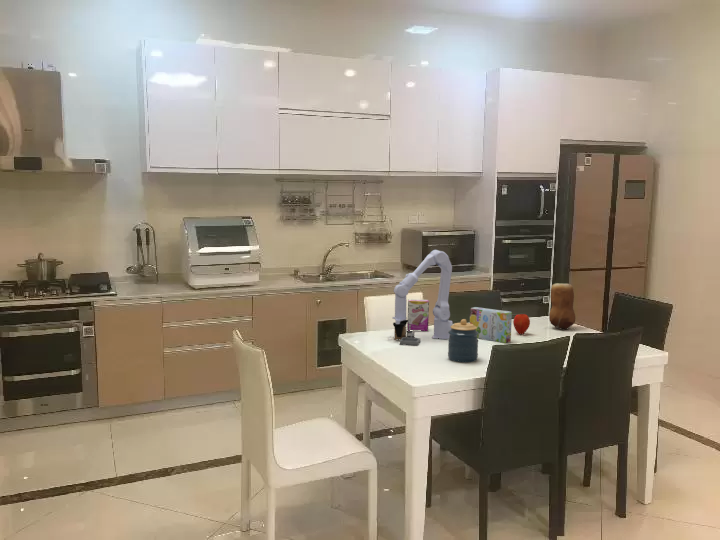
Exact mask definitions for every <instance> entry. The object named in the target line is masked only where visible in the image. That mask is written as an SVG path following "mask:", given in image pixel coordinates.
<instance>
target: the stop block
mask: <svg viewBox="0 0 720 540" xmlns="http://www.w3.org/2000/svg"><path fill="white" fill-rule="evenodd" d="M406 331H407V326H405V327H403V330H402V336H401V337H397V335H396V330H395V329H394V336H393V337H394V338H393V339H400V340H401V339H402V338H403V337H407V332H406ZM400 340H399V341H400Z"/></svg>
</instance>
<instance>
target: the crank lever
mask: <svg viewBox="0 0 720 540" xmlns="http://www.w3.org/2000/svg"><path fill="white" fill-rule="evenodd" d="M415 332H416V331H410V330H408V331H407V330H406V337H409V338H412V337H415Z"/></svg>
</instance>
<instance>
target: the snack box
mask: <svg viewBox="0 0 720 540" xmlns="http://www.w3.org/2000/svg"><path fill="white" fill-rule="evenodd" d="M512 320H513V312H512V311H508V310H500V309H492V308H487V307H486V308H484V307H477V306H474V307H471V308H469V323H471V324H473V325H474V326H476V327H477V329H476V331H477V332H478V333H479V334H478V335H477V339H479V340H485V339H486V341H491V342H498V343H504V344H506V343H507V344H508V343H510V342H511V339H512V324H513V321H512Z"/></svg>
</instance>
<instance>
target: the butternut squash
mask: <svg viewBox="0 0 720 540" xmlns="http://www.w3.org/2000/svg"><path fill="white" fill-rule="evenodd" d="M574 300H575V292H574V287H573V285H572V284H570V283H558V282H557V283H556V282H555V283H553V284H552V285H551V289H550V301H551V309H550V311H549V315H548V316H549V317H548V319H549V323H550V324H551V325H552V326H554V327H555V328H557V329H559V328H561V329H560V330H563V329H565V330H568V329H570V328H571V327H572V326H573V325H574V324H575V323H576V314H575V313H576V312H575V310H574ZM567 328H568V329H567Z"/></svg>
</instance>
